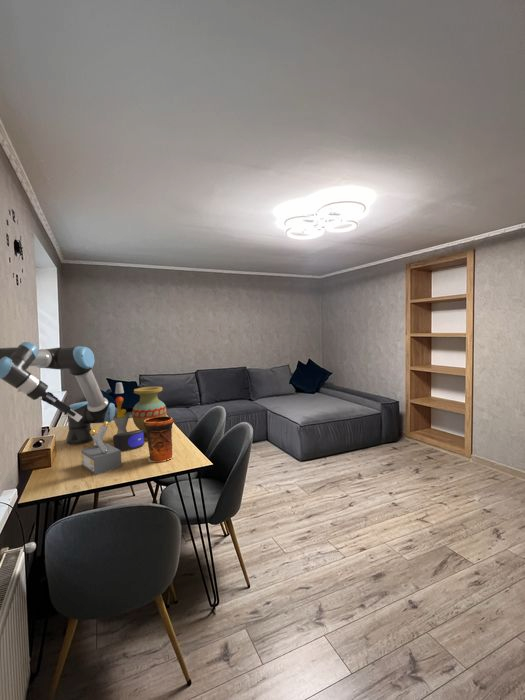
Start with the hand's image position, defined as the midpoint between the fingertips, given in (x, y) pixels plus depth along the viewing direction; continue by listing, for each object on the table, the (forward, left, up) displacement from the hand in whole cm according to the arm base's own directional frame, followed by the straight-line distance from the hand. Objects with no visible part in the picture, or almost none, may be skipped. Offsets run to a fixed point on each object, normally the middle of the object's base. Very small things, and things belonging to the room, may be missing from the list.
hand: (79, 419), depth 153 cm
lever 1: (-12, +10, -18) cm, 24 cm away
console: (-6, +10, -26) cm, 29 cm away
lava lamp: (-37, +34, -26) cm, 57 cm away
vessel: (+7, +34, -26) cm, 44 cm away
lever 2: (0, +10, -18) cm, 21 cm away
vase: (-29, +48, -26) cm, 62 cm away
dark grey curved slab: (-21, +31, -26) cm, 45 cm away
